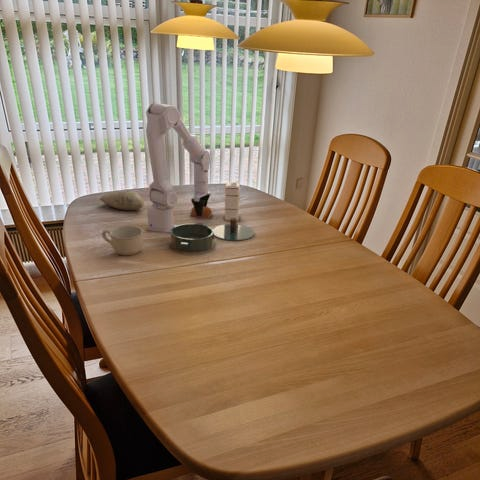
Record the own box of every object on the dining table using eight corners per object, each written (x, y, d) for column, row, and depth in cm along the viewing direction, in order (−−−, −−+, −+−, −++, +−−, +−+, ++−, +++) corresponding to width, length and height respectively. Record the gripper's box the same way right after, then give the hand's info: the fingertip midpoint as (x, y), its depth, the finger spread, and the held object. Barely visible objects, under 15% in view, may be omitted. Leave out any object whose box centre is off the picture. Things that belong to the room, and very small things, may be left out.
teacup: (149, 249, 155) (148, 227, 150) (133, 261, 146) (131, 238, 142) (115, 242, 158) (112, 221, 154) (97, 254, 149) (94, 231, 145)
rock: (132, 214, 181) (98, 207, 190) (151, 209, 190) (117, 202, 199) (131, 196, 178) (96, 189, 187) (150, 192, 186) (116, 185, 195)
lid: (207, 239, 165) (207, 224, 161) (217, 225, 178) (217, 210, 175) (250, 244, 162) (251, 229, 159) (256, 229, 176) (257, 214, 173)
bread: (190, 217, 184) (190, 207, 182) (193, 213, 188) (193, 203, 186) (209, 219, 183) (209, 209, 181) (212, 215, 187) (212, 205, 185)
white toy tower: (238, 221, 182) (240, 186, 175) (224, 220, 182) (225, 185, 175) (238, 216, 187) (240, 182, 180) (224, 216, 187) (225, 181, 179)
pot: (163, 254, 152) (162, 239, 149) (180, 233, 169) (180, 219, 166) (205, 259, 150) (205, 244, 147) (219, 237, 167) (219, 223, 164)
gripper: (206, 186, 171) (206, 220, 178) (214, 177, 183) (214, 208, 191) (188, 184, 172) (189, 218, 179) (198, 175, 184) (198, 207, 191)
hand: (201, 213), depth 185 cm, fingers open, 6 cm apart
